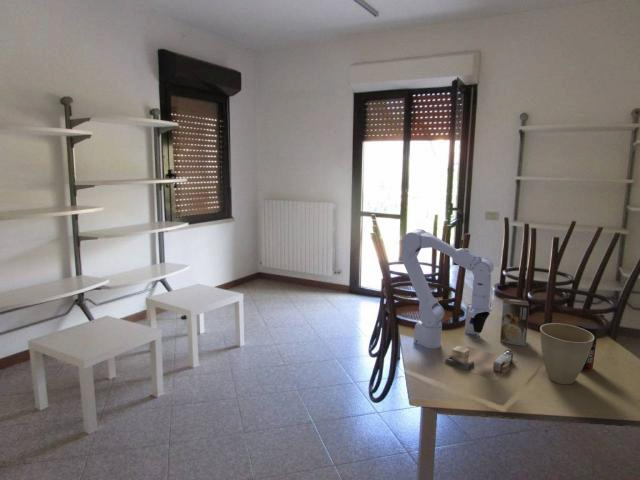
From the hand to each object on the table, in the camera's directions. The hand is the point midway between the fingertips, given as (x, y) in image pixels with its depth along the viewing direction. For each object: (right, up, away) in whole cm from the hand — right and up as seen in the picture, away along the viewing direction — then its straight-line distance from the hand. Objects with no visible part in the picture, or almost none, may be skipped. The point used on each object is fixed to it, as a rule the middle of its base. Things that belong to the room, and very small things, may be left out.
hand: (477, 331), depth 153 cm
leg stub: (-8, -10, -4) cm, 13 cm away
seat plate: (-1, -11, -3) cm, 11 cm away
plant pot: (+22, -13, -12) cm, 28 cm away
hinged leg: (+6, -10, -6) cm, 13 cm away
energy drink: (+6, -6, +22) cm, 24 cm away
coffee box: (+19, -7, +16) cm, 26 cm away
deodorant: (+34, -11, -4) cm, 36 cm away
